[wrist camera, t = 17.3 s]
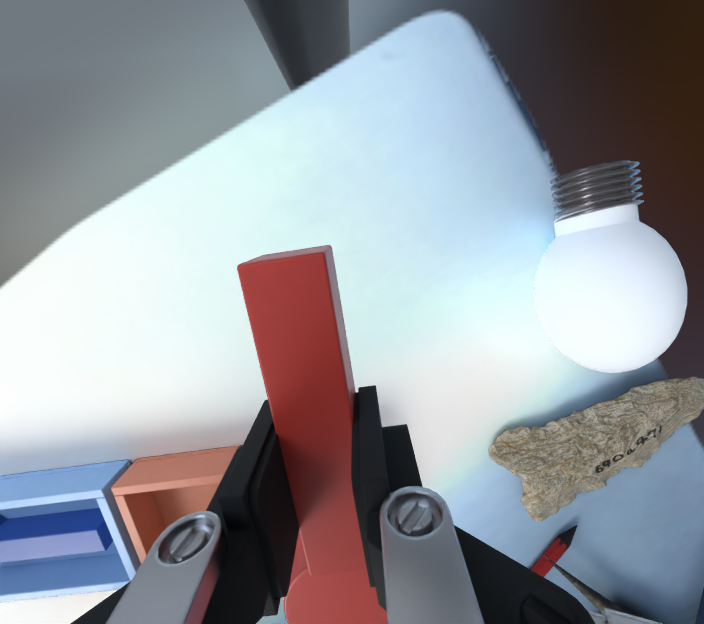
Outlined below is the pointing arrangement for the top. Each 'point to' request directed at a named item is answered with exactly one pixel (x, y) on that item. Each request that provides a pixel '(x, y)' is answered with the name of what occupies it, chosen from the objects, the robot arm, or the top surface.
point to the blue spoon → (53, 535)
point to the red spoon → (312, 429)
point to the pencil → (554, 552)
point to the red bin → (167, 491)
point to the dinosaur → (594, 594)
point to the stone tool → (595, 442)
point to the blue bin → (62, 496)
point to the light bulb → (607, 274)
